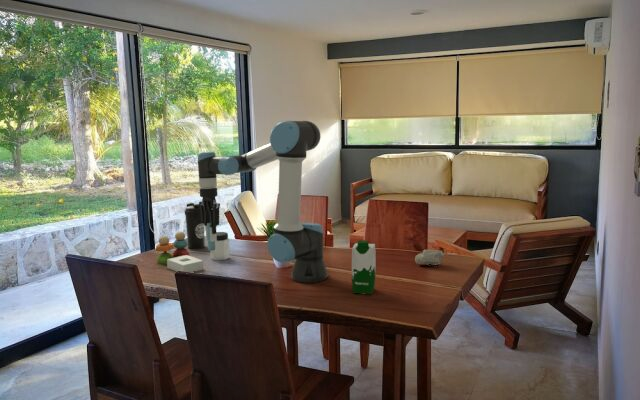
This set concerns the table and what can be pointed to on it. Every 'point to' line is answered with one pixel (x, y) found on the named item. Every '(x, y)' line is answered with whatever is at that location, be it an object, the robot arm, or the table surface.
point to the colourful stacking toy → (166, 246)
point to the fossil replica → (429, 257)
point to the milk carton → (363, 267)
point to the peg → (210, 244)
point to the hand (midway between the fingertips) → (211, 240)
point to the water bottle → (194, 227)
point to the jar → (221, 247)
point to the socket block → (185, 264)
